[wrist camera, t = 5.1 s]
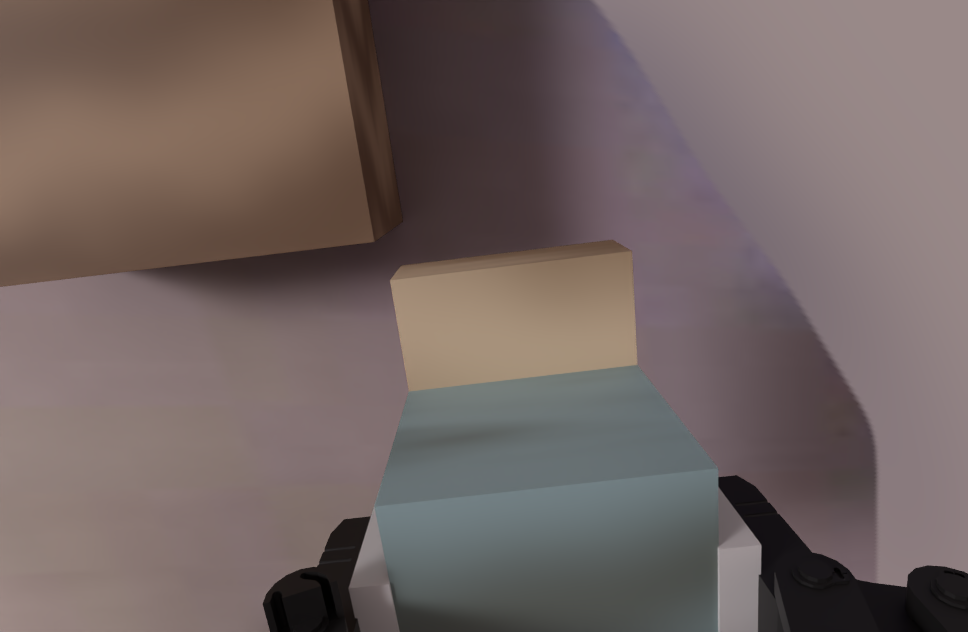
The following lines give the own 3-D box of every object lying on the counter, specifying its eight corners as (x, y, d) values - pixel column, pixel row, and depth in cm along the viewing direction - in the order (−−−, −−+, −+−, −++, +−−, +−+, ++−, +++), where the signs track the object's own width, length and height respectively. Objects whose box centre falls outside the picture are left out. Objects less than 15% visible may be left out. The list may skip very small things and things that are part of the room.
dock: (402, 221, 27) (355, 255, 17) (85, 259, 27) (-132, 313, 18) (340, -172, 22) (230, -421, 13) (-35, -116, 23) (-409, -313, 13)
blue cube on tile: (632, 590, 19) (720, 834, 12) (457, 609, 19) (445, 860, 12) (612, 239, 15) (716, 300, 9) (400, 265, 16) (341, 345, 9)
